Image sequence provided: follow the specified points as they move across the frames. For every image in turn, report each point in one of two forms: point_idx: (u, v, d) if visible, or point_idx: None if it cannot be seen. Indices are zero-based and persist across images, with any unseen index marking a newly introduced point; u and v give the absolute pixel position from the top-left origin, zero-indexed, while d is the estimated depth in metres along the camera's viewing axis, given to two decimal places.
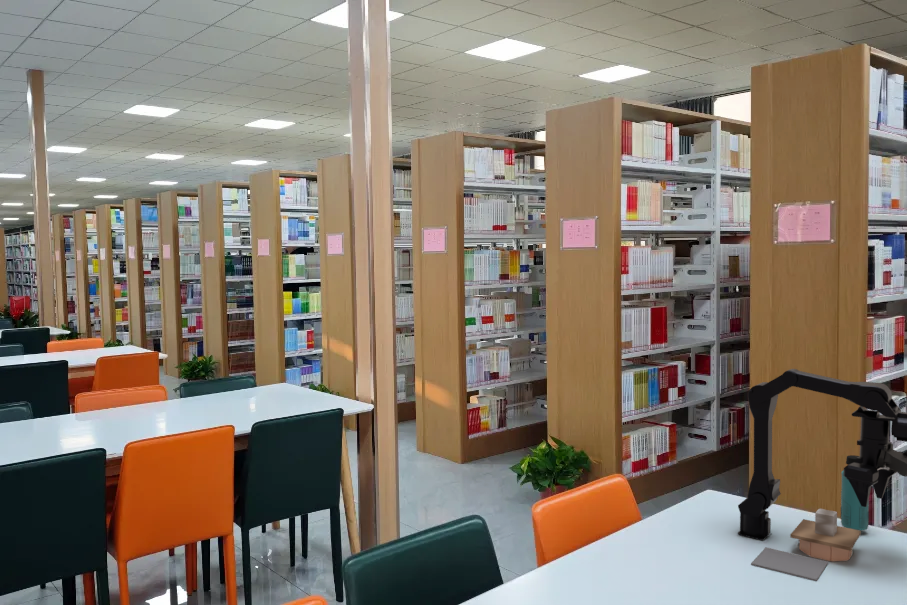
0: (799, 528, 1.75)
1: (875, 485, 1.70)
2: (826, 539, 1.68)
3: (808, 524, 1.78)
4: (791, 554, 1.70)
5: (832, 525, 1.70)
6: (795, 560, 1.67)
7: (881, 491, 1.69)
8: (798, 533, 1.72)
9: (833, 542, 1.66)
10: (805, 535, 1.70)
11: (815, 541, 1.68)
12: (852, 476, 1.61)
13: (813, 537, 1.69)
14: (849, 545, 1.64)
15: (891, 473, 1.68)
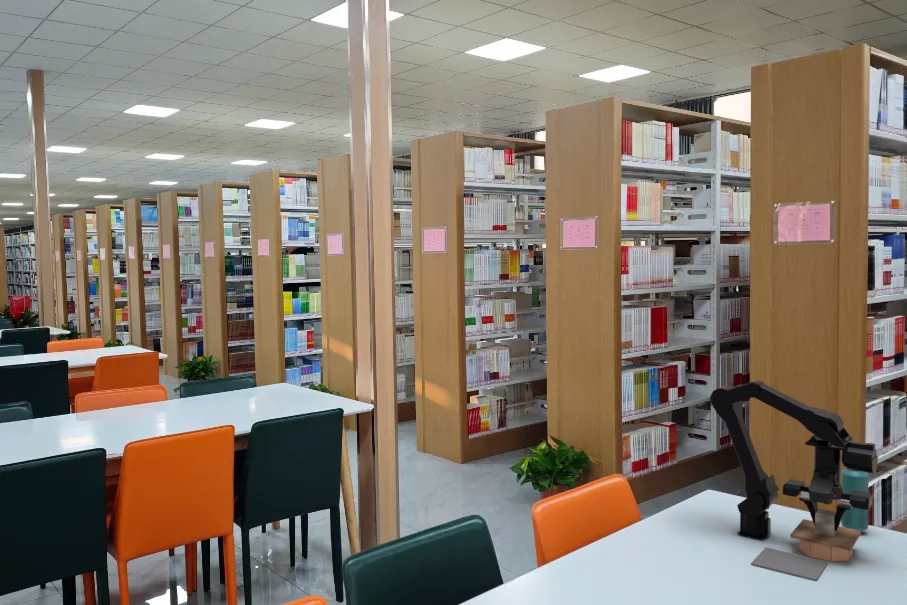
0: (799, 528, 1.75)
1: None
2: (826, 539, 1.68)
3: (808, 524, 1.78)
4: (791, 554, 1.70)
5: (832, 525, 1.70)
6: (795, 560, 1.67)
7: (835, 523, 1.71)
8: (798, 533, 1.72)
9: (833, 542, 1.66)
10: (805, 535, 1.70)
11: (815, 541, 1.68)
12: None
13: (813, 537, 1.69)
14: (849, 545, 1.64)
15: None
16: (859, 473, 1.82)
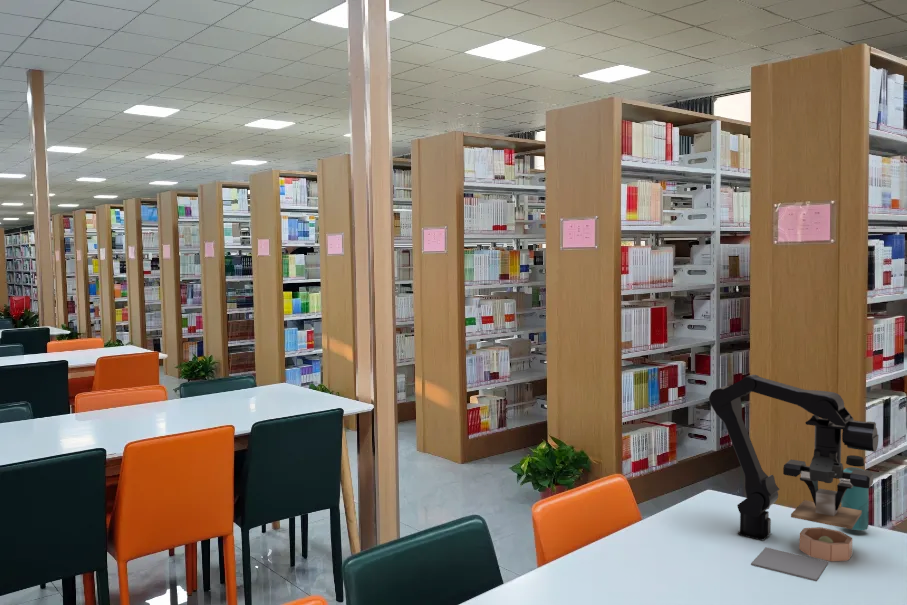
0: (800, 508, 1.75)
1: None
2: (827, 518, 1.68)
3: (809, 504, 1.77)
4: (791, 554, 1.70)
5: (833, 504, 1.69)
6: (795, 560, 1.67)
7: (835, 503, 1.70)
8: (799, 513, 1.72)
9: (834, 521, 1.66)
10: (806, 515, 1.70)
11: (816, 520, 1.68)
12: None
13: (814, 516, 1.69)
14: (850, 524, 1.64)
15: None
16: None
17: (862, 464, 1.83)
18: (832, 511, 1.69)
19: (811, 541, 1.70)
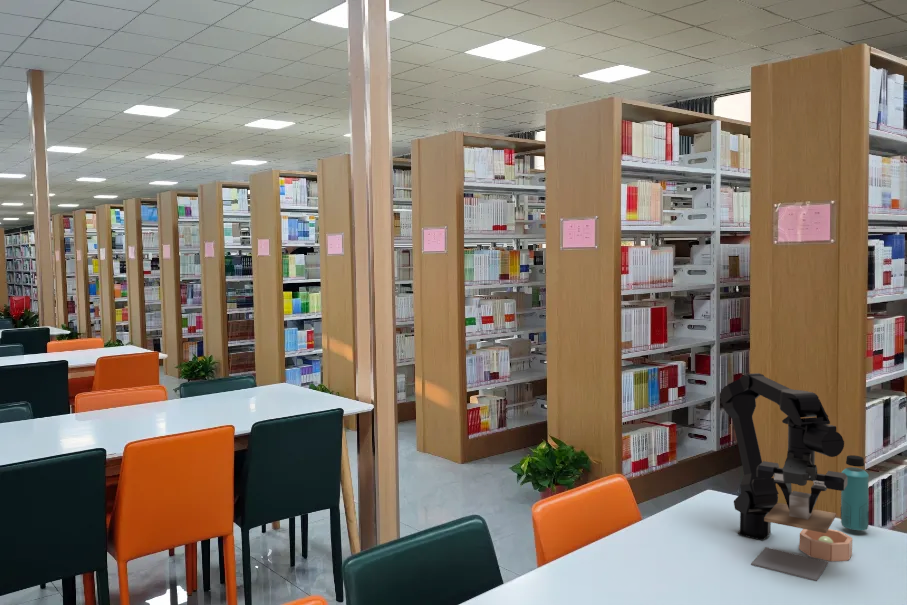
0: (773, 511, 1.69)
1: None
2: (801, 522, 1.62)
3: (782, 507, 1.72)
4: (791, 554, 1.70)
5: (807, 507, 1.64)
6: (795, 560, 1.67)
7: None
8: (772, 516, 1.66)
9: (808, 525, 1.60)
10: (779, 519, 1.64)
11: (789, 524, 1.62)
12: None
13: (787, 520, 1.63)
14: (824, 527, 1.59)
15: None
16: (859, 473, 1.82)
17: (862, 464, 1.83)
18: (806, 514, 1.64)
19: (811, 541, 1.70)
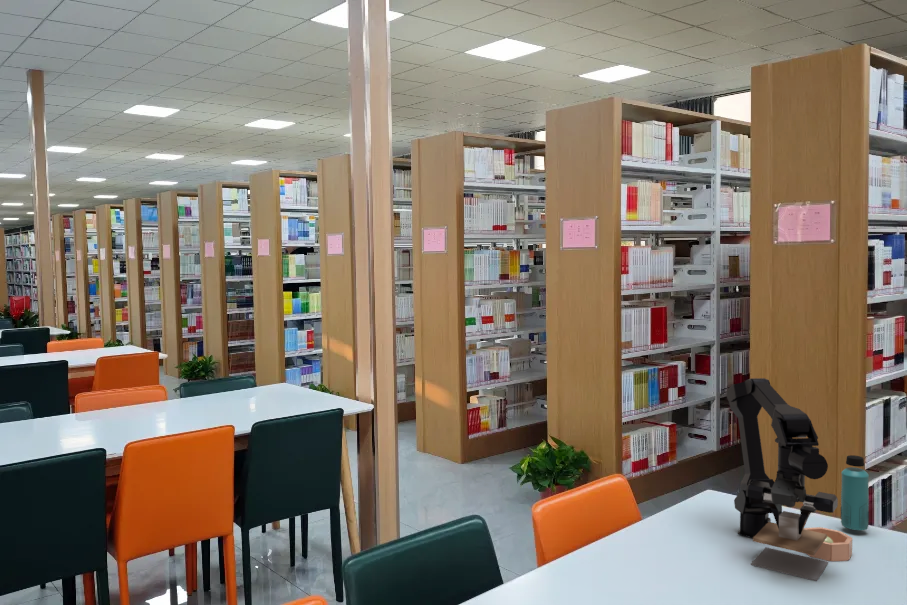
0: (763, 531, 1.68)
1: None
2: (789, 543, 1.61)
3: (773, 527, 1.71)
4: (791, 554, 1.70)
5: (796, 528, 1.63)
6: (795, 560, 1.67)
7: (799, 526, 1.64)
8: (761, 537, 1.65)
9: (796, 546, 1.59)
10: (768, 539, 1.63)
11: (778, 545, 1.61)
12: None
13: (776, 541, 1.62)
14: (812, 549, 1.57)
15: None
16: (859, 473, 1.82)
17: (862, 464, 1.83)
18: (795, 535, 1.63)
19: None
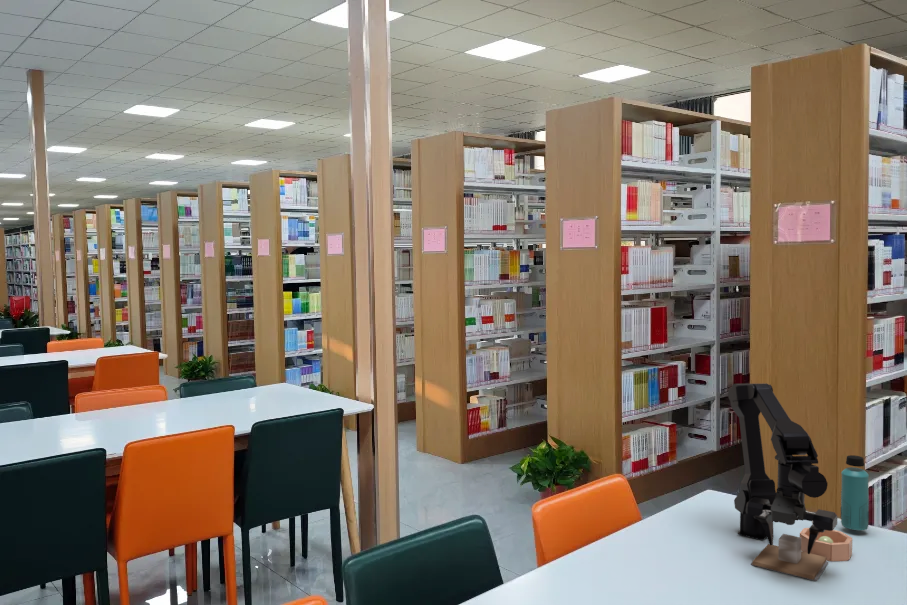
0: (762, 554, 1.68)
1: None
2: (789, 567, 1.61)
3: (772, 549, 1.71)
4: None
5: (796, 552, 1.63)
6: None
7: (808, 546, 1.63)
8: (761, 560, 1.65)
9: (796, 570, 1.59)
10: (768, 563, 1.64)
11: (777, 569, 1.61)
12: None
13: (776, 564, 1.63)
14: (812, 574, 1.58)
15: None
16: (859, 473, 1.82)
17: (862, 464, 1.83)
18: (795, 559, 1.63)
19: None
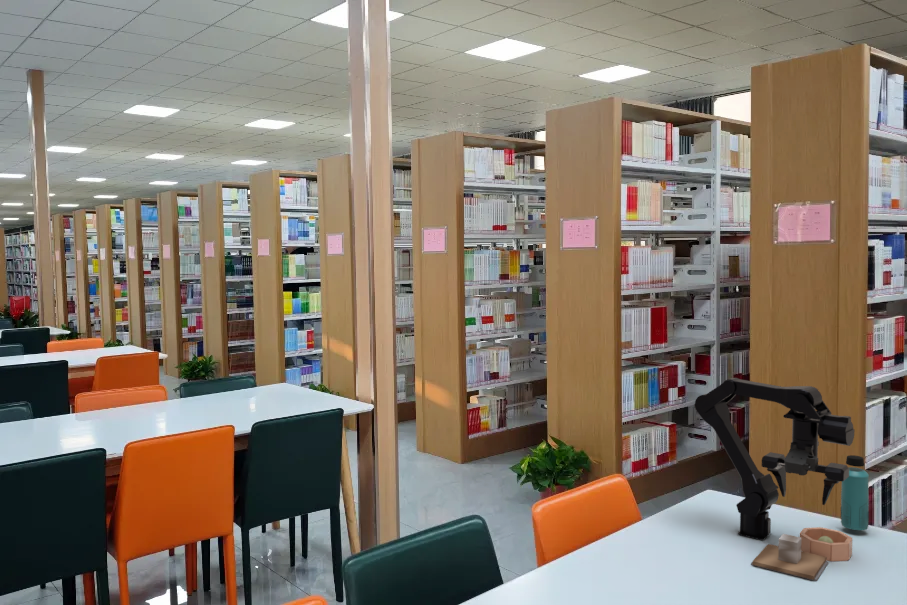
0: (762, 554, 1.68)
1: None
2: (789, 567, 1.61)
3: (772, 549, 1.71)
4: None
5: (796, 552, 1.63)
6: None
7: None
8: (761, 560, 1.65)
9: (796, 570, 1.59)
10: (768, 563, 1.64)
11: (777, 569, 1.61)
12: None
13: (776, 564, 1.63)
14: (812, 574, 1.58)
15: None
16: (859, 473, 1.82)
17: (862, 464, 1.83)
18: (795, 559, 1.63)
19: (811, 541, 1.70)
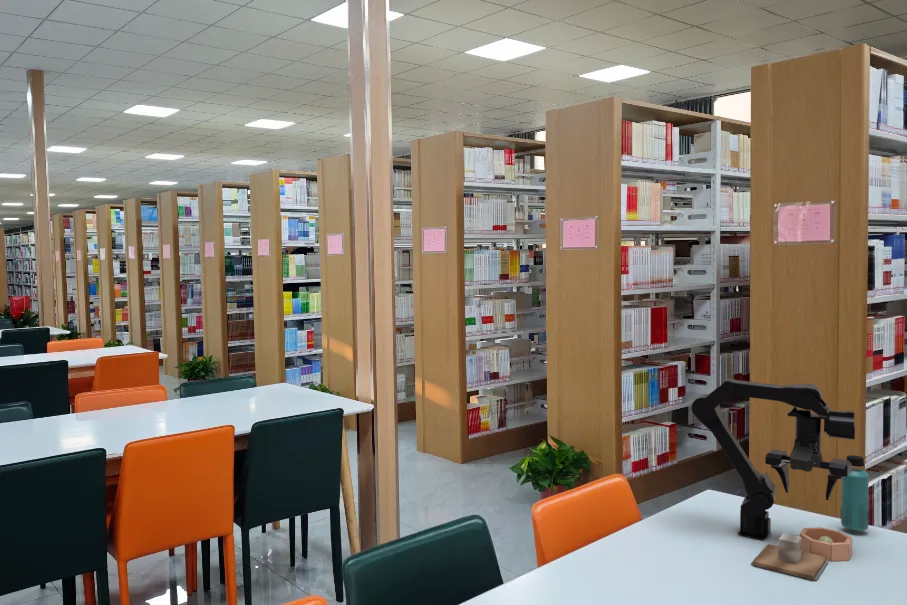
0: (762, 554, 1.68)
1: None
2: (789, 567, 1.61)
3: (772, 549, 1.71)
4: None
5: (796, 552, 1.63)
6: None
7: (826, 493, 1.74)
8: (761, 560, 1.65)
9: (796, 570, 1.59)
10: (768, 563, 1.64)
11: (777, 569, 1.61)
12: None
13: (776, 564, 1.63)
14: (812, 574, 1.58)
15: None
16: (859, 473, 1.82)
17: (862, 464, 1.83)
18: (795, 559, 1.63)
19: (811, 541, 1.70)
